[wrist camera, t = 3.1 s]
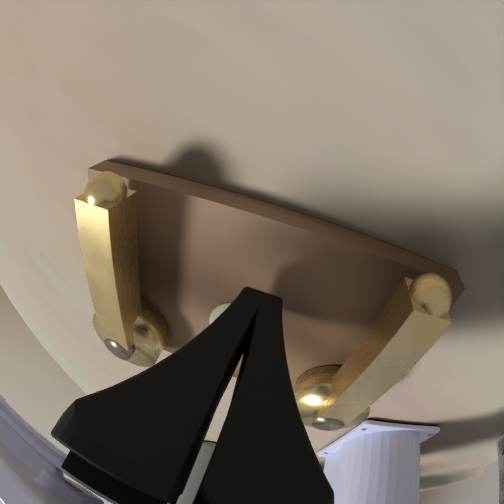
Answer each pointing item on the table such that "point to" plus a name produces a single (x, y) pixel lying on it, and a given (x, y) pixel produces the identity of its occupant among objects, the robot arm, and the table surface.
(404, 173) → the table surface
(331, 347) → the base
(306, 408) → the lever
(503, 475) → the coffee box
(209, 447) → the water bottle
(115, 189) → the lever
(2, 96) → the table surface
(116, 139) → the table surface
